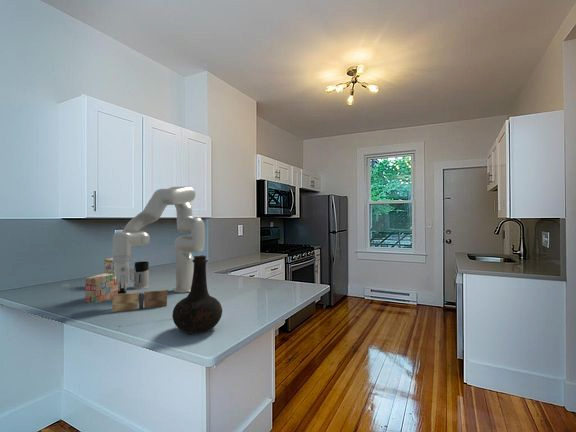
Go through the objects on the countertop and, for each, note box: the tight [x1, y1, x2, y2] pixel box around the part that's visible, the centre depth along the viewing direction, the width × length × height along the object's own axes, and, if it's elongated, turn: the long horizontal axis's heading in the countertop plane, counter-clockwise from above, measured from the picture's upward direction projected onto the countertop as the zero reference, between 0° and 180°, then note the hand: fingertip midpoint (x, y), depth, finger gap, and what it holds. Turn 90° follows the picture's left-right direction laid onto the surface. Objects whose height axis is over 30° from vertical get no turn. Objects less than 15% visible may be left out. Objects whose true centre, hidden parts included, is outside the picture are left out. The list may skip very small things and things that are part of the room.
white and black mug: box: [129, 261, 150, 290], centre depth 181 cm, size 9×14×15 cm, turn 167°
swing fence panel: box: [111, 291, 140, 313], centre depth 137 cm, size 10×2×7 cm, turn 116°
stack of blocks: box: [84, 273, 128, 304], centre depth 161 cm, size 21×6×12 cm, turn 169°
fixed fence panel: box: [138, 289, 168, 310], centre depth 142 cm, size 12×2×8 cm, turn 116°
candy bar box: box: [103, 257, 116, 276], centre depth 186 cm, size 11×5×16 cm, turn 58°
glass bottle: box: [171, 255, 223, 334], centre depth 117 cm, size 18×18×28 cm
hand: (121, 299), depth 140 cm, fingers closed
